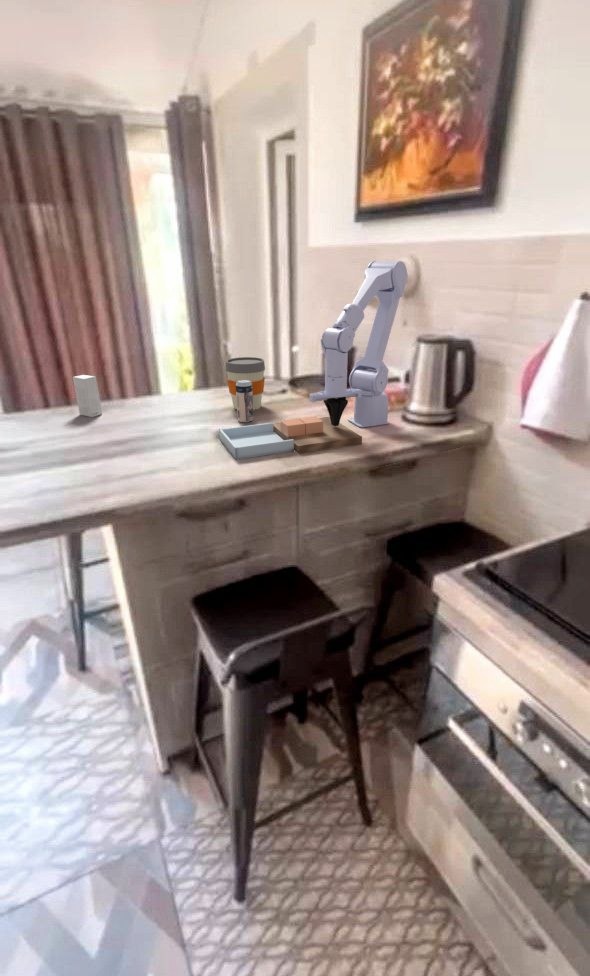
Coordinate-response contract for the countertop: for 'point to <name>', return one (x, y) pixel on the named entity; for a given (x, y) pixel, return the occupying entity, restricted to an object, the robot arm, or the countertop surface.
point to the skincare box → (87, 395)
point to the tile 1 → (293, 427)
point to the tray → (254, 441)
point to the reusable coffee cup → (246, 377)
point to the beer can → (244, 400)
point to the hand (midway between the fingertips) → (334, 424)
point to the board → (322, 437)
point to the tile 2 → (312, 425)
